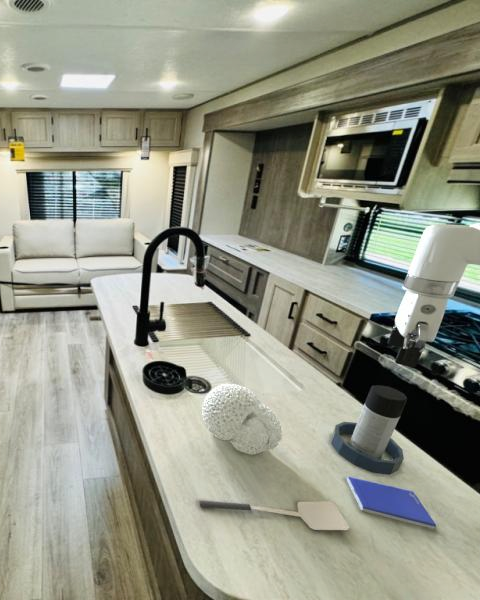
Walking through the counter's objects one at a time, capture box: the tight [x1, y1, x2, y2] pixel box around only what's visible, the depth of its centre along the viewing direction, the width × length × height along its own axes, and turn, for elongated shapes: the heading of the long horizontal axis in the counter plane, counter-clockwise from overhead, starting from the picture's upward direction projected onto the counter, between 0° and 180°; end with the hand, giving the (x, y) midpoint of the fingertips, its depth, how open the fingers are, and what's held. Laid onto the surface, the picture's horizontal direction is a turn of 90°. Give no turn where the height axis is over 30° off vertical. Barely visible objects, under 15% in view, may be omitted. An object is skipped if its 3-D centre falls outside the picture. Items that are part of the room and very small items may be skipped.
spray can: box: [348, 385, 408, 459], centre depth 80 cm, size 7×7×20 cm
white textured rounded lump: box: [201, 383, 283, 455], centre depth 88 cm, size 20×18×16 cm
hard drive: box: [346, 476, 437, 530], centre depth 71 cm, size 2×8×12 cm
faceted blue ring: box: [330, 421, 405, 476], centre depth 83 cm, size 14×14×4 cm
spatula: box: [199, 500, 350, 531], centre depth 69 cm, size 6×29×2 cm, turn 83°
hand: (400, 355), depth 72 cm, fingers open, 9 cm apart
